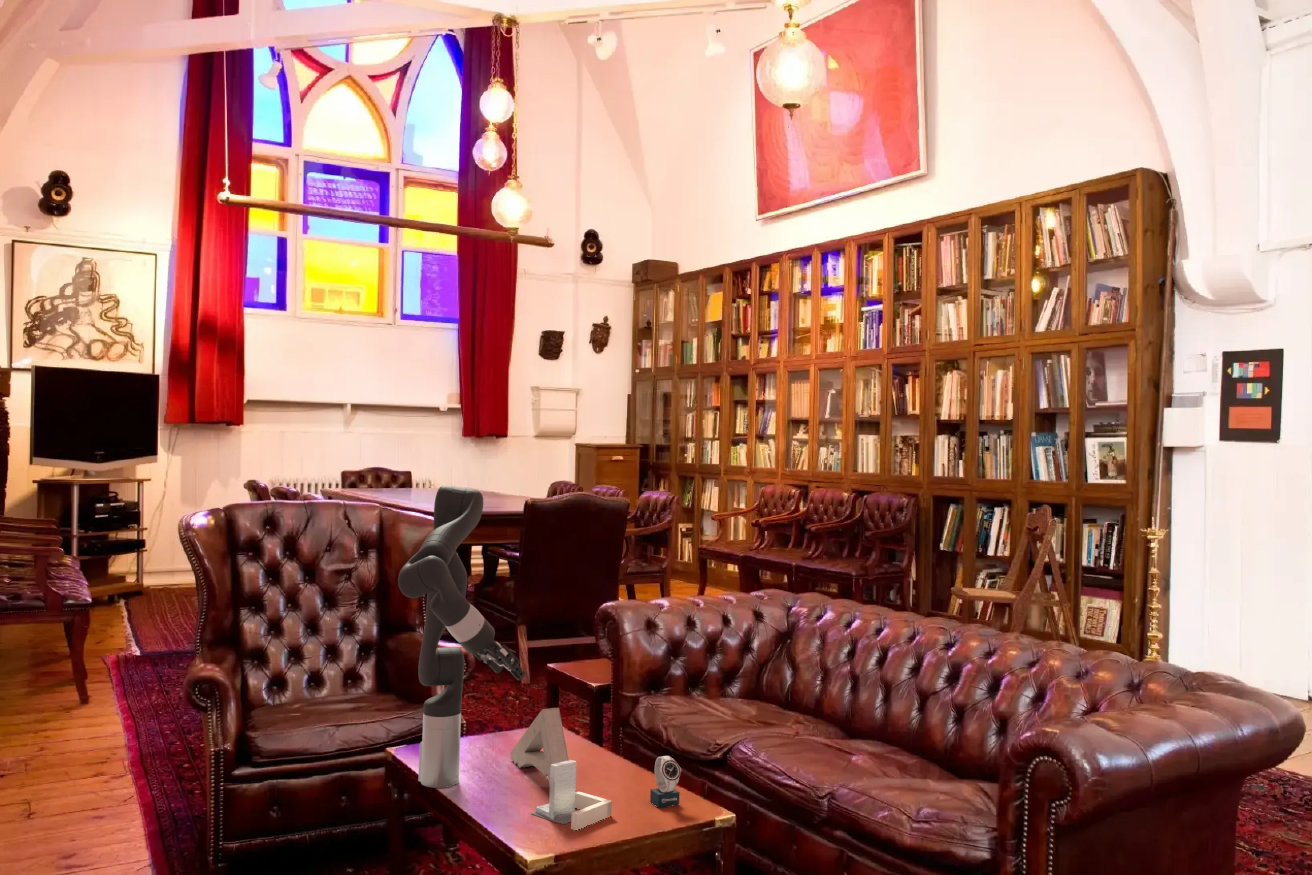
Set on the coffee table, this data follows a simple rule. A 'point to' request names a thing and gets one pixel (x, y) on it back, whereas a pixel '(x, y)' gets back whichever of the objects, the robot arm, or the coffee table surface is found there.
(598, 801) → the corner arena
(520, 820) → the coffee table surface
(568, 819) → the mat
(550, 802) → the angle bracket
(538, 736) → the letter a
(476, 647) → the robot arm
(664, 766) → the watch
